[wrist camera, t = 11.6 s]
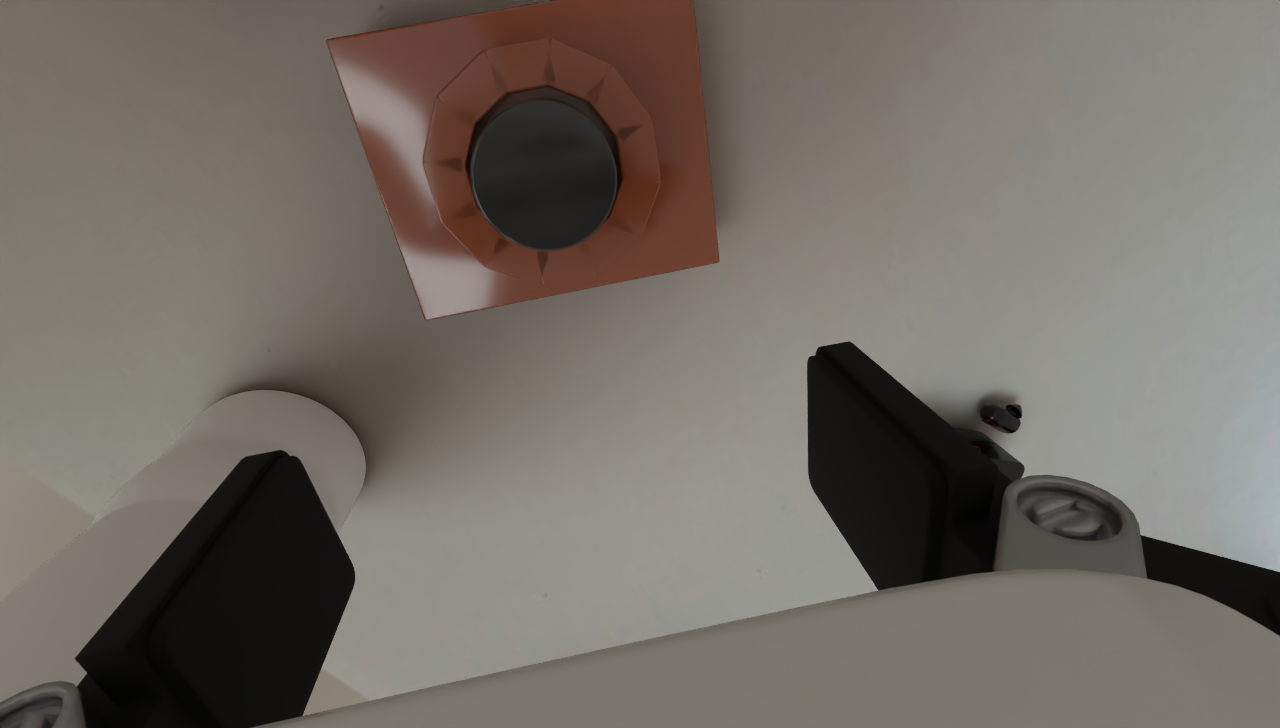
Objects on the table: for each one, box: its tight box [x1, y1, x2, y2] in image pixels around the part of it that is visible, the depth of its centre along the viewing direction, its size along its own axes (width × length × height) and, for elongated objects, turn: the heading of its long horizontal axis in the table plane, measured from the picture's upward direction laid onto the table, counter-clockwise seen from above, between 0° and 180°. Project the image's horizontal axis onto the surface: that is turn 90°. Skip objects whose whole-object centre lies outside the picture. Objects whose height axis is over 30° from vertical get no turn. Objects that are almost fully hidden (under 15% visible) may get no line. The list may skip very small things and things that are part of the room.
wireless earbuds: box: [953, 404, 1024, 482], centre depth 29 cm, size 5×7×3 cm, turn 77°
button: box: [470, 99, 617, 251], centre depth 17 cm, size 4×4×2 cm
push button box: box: [326, 0, 720, 320], centre depth 19 cm, size 11×9×5 cm
